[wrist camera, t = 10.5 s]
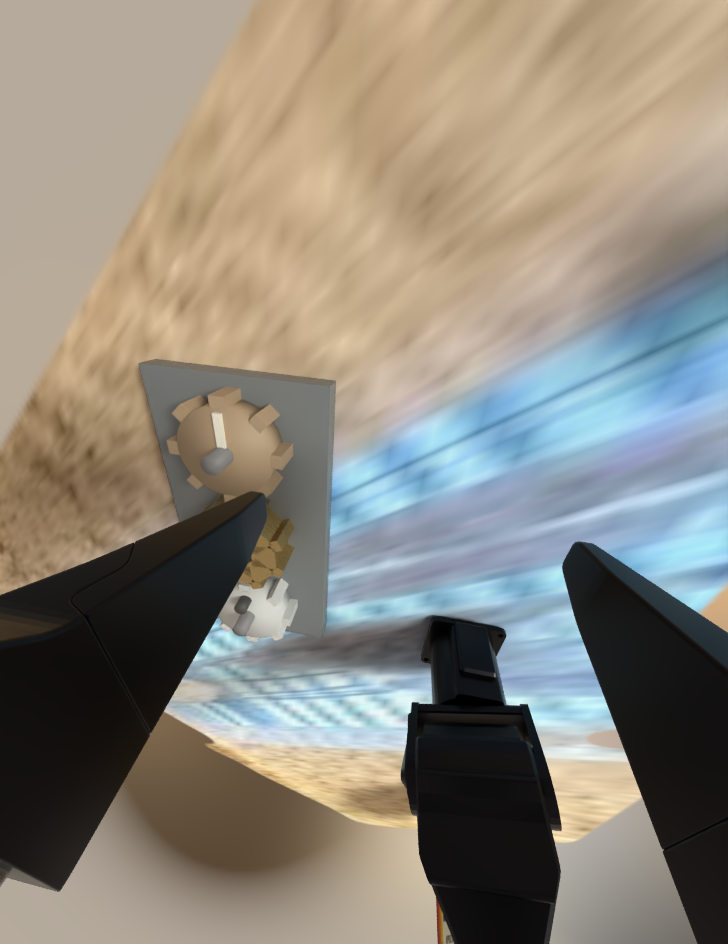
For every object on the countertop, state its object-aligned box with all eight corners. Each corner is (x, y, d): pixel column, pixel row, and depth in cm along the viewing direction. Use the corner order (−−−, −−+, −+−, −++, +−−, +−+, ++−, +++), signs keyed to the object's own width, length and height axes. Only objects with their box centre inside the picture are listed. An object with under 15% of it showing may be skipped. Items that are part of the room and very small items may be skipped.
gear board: (326, 623, 31) (310, 682, 27) (212, 602, 32) (177, 655, 28) (335, 380, 20) (310, 407, 15) (155, 358, 21) (77, 377, 16)
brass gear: (295, 570, 26) (284, 595, 24) (214, 556, 27) (197, 579, 25) (293, 499, 23) (280, 521, 20) (200, 485, 23) (178, 505, 21)
